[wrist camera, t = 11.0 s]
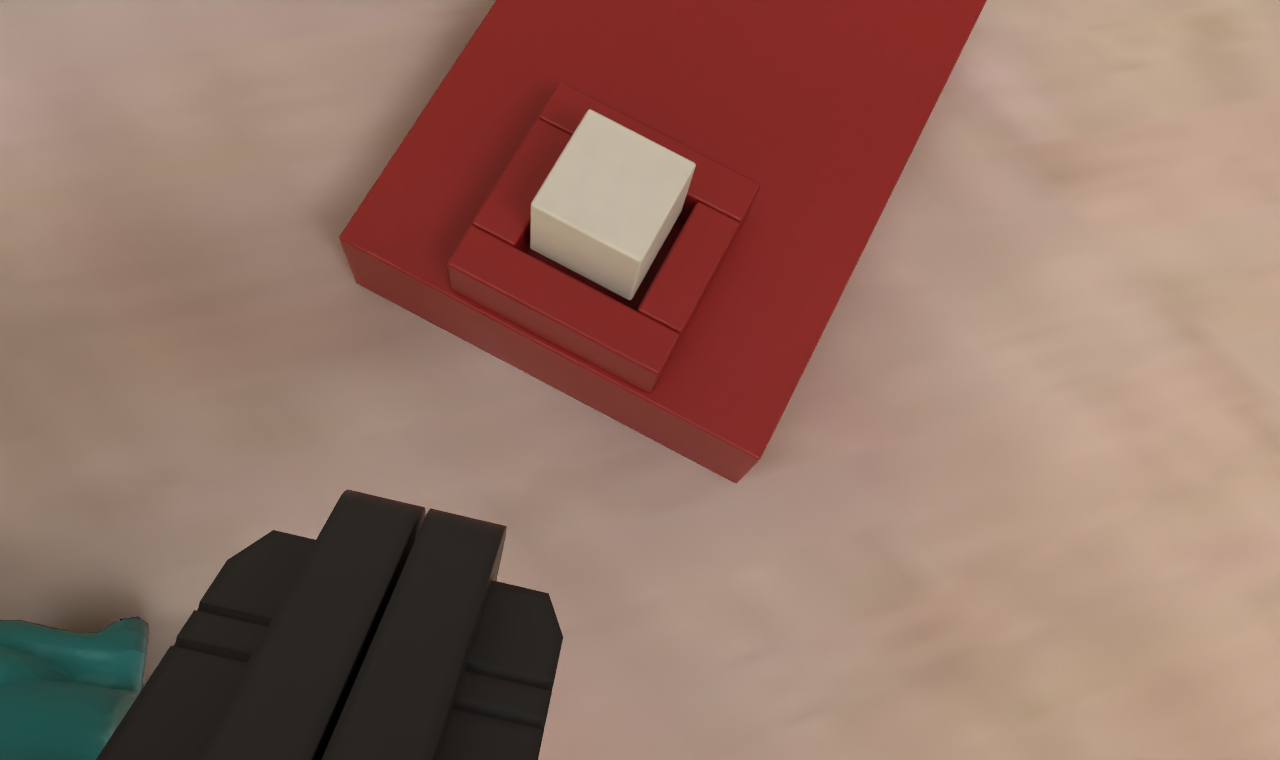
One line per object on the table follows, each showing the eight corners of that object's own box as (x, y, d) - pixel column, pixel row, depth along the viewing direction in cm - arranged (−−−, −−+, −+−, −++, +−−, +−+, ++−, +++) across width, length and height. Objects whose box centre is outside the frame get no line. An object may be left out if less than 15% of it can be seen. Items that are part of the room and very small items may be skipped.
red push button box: (355, 283, 31) (325, 207, 27) (619, -124, 36) (634, -250, 31) (736, 484, 31) (775, 444, 26) (954, 45, 36) (1021, -57, 31)
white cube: (528, 249, 27) (529, 204, 25) (583, 158, 28) (588, 106, 26) (630, 302, 27) (641, 262, 25) (682, 209, 28) (697, 162, 26)
